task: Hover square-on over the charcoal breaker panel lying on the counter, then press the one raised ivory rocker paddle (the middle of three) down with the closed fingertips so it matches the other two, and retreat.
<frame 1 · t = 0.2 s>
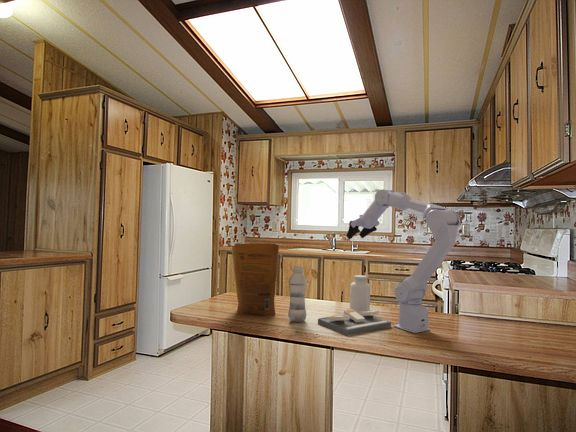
hand: (354, 237, 153), 31 cm above the table, tool tilted 45°, fingers open, 7 cm apart
paddle middle: (354, 315, 132), point 4 cm above the table, hinge at -15.0°
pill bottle: (359, 313, 151), on the table
paddle 1: (338, 317, 128), point 4 cm above the table, hinge at 13.0°
plastic bottle: (297, 322, 136), on the table
panel: (353, 325, 132), on the table
pancake mix bag: (255, 314, 147), on the table
paddle 2: (368, 313, 136), point 4 cm above the table, hinge at 13.0°
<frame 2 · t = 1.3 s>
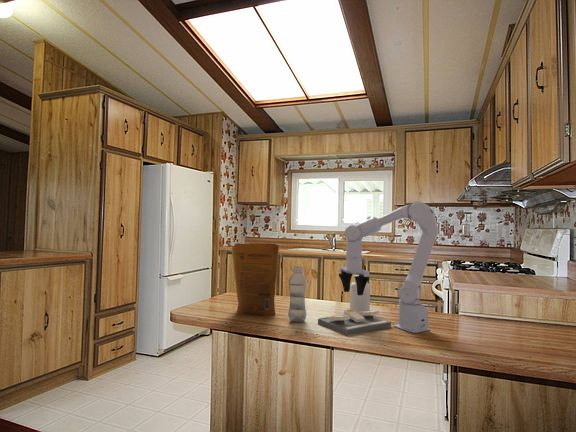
hand: (353, 293, 140), 10 cm above the table, tool pointing down, fingers open, 7 cm apart
nothing on the table moved.
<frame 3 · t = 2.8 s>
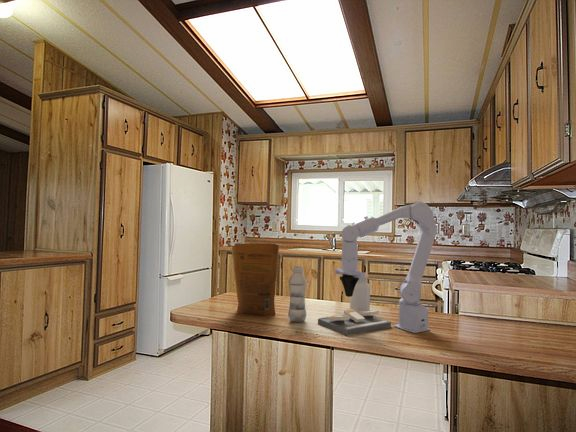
hand: (349, 296, 134), 10 cm above the table, tool pointing down, fingers closed
nothing on the table moved.
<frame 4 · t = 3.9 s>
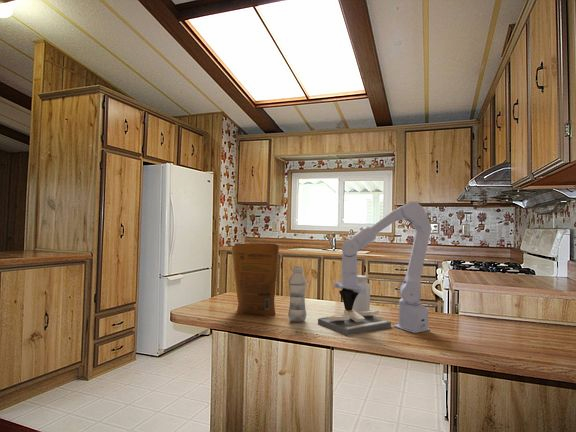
hand: (348, 310, 134), 5 cm above the table, tool pointing down, fingers closed, pressing on paddle middle
paddle middle: (354, 315, 132), point 4 cm above the table, hinge at -14.9°, touching gripper
everything else where it was.
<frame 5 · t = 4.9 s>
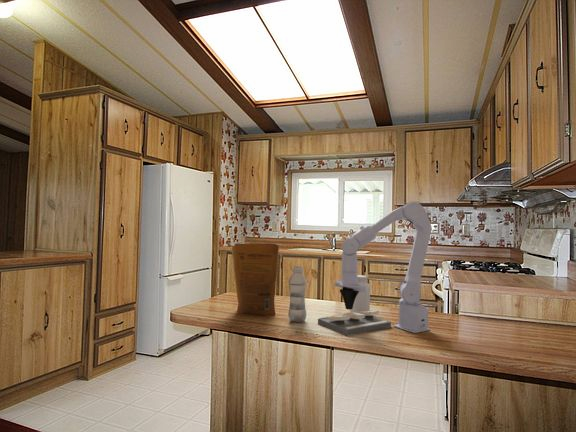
hand: (349, 309, 134), 5 cm above the table, tool pointing down, fingers closed
paddle middle: (354, 315, 132), point 4 cm above the table, hinge at 5.3°
everything else where it was.
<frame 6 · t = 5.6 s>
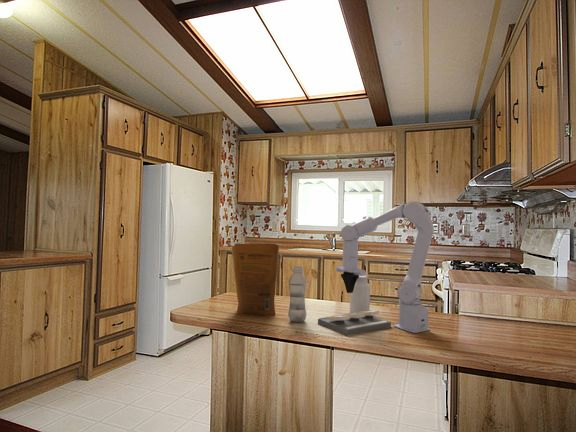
hand: (349, 292, 141), 10 cm above the table, tool pointing down, fingers closed
paddle middle: (354, 315, 132), point 4 cm above the table, hinge at 11.4°
everything else where it was.
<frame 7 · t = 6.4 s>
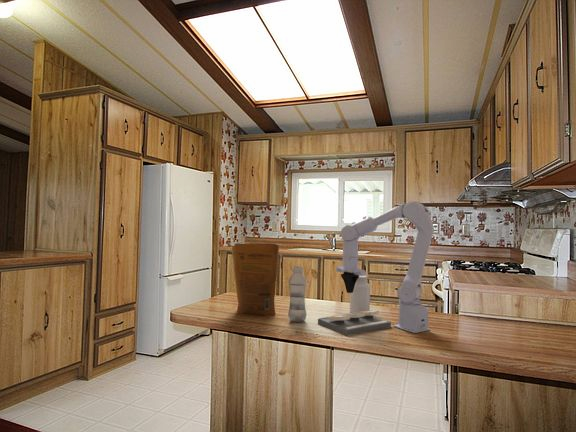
hand: (349, 292, 142), 10 cm above the table, tool pointing down, fingers closed
paddle middle: (354, 315, 132), point 4 cm above the table, hinge at 15.0°
everything else where it was.
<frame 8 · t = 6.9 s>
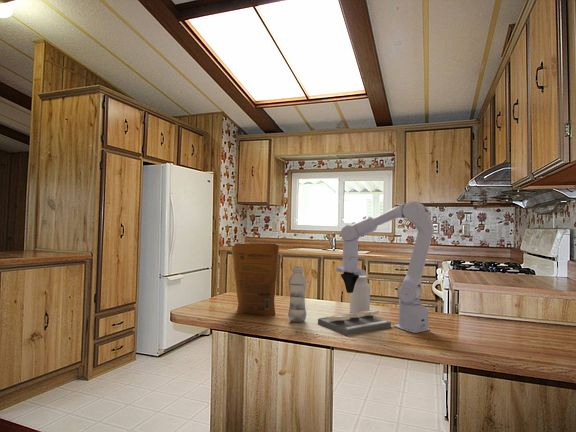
hand: (349, 292, 142), 10 cm above the table, tool pointing down, fingers closed
paddle middle: (354, 315, 132), point 4 cm above the table, hinge at 16.2°
everything else where it was.
at the end: paddle middle at +17° (first picture: -15°); paddle 2 at +13° (first picture: +13°) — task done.
